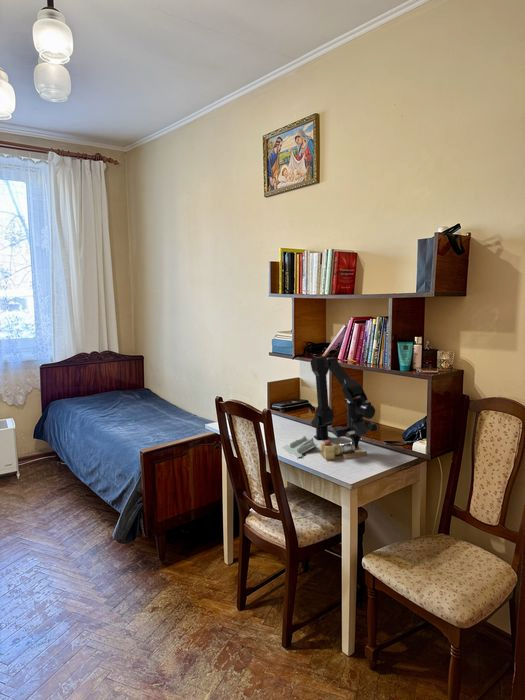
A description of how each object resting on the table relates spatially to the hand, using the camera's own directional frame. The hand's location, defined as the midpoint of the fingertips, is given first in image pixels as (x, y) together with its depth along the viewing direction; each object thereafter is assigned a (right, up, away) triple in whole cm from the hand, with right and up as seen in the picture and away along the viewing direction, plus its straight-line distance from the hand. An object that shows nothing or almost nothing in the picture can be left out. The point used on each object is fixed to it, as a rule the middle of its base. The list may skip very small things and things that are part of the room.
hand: (356, 447), depth 206 cm
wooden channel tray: (-6, -3, -1) cm, 7 cm away
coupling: (-4, -3, -1) cm, 5 cm away
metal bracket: (-23, -3, +8) cm, 25 cm away
